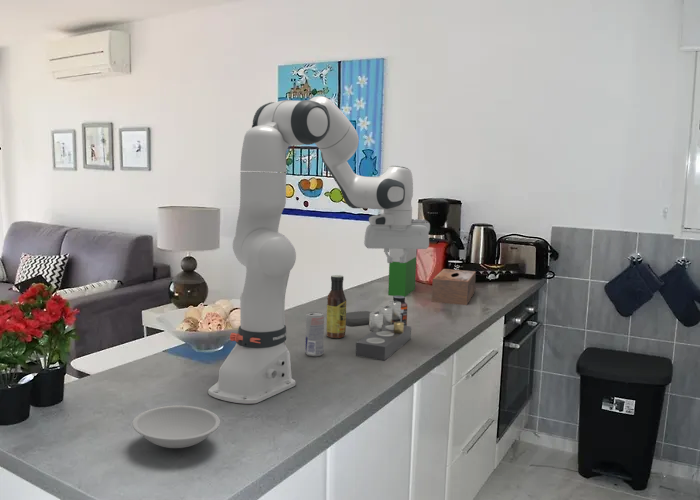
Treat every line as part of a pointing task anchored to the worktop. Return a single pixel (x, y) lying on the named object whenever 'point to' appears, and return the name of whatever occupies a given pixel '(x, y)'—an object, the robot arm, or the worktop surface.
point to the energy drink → (314, 334)
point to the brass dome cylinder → (398, 327)
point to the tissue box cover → (453, 286)
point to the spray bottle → (357, 318)
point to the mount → (382, 343)
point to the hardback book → (402, 273)
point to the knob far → (395, 309)
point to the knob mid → (386, 315)
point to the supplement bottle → (403, 310)
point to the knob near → (376, 321)
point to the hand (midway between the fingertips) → (395, 262)
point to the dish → (176, 425)
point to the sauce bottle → (336, 309)
